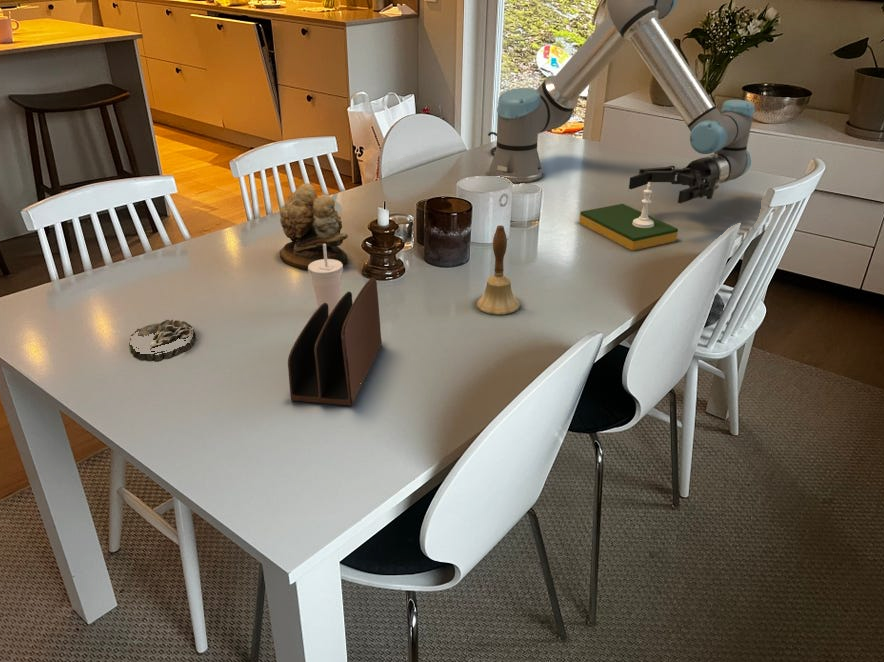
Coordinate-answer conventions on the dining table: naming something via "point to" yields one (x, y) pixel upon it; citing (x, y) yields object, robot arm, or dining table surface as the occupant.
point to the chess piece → (644, 211)
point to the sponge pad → (627, 227)
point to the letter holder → (336, 350)
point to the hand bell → (498, 282)
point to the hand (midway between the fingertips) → (654, 190)
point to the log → (165, 338)
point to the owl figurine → (311, 228)
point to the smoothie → (326, 280)
